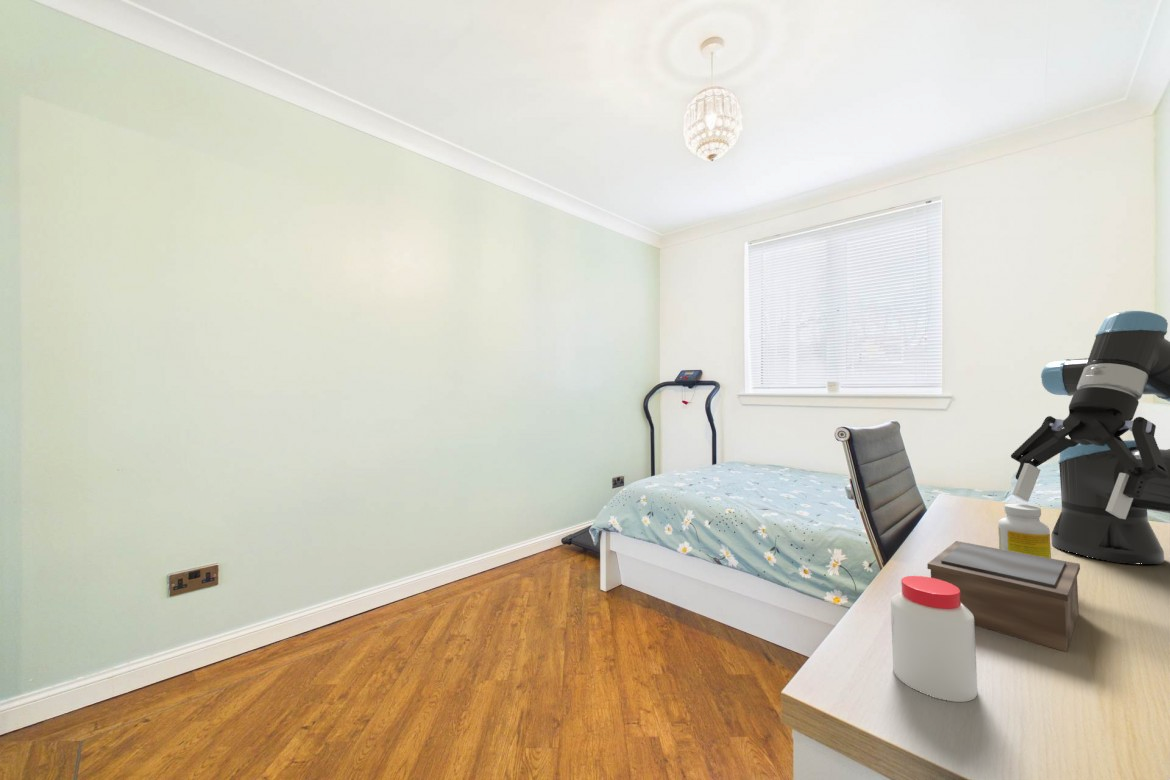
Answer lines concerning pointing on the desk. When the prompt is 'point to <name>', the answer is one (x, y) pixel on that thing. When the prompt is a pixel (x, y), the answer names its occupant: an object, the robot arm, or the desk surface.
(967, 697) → the pill bottle
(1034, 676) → the desk surface
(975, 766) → the desk surface
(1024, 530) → the supplement bottle
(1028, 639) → the walnut box
